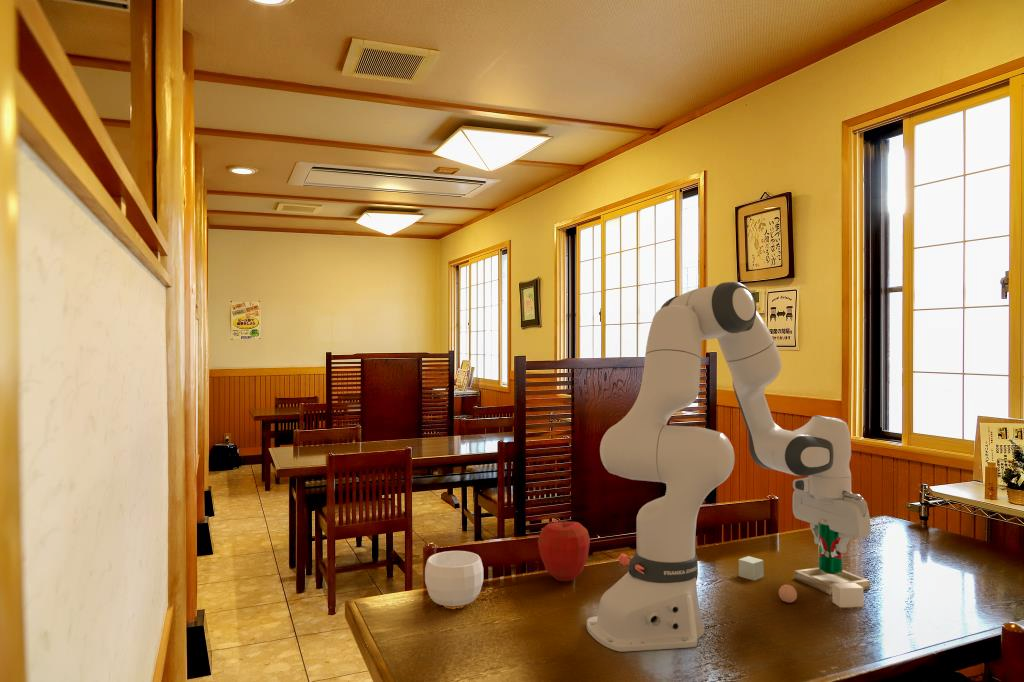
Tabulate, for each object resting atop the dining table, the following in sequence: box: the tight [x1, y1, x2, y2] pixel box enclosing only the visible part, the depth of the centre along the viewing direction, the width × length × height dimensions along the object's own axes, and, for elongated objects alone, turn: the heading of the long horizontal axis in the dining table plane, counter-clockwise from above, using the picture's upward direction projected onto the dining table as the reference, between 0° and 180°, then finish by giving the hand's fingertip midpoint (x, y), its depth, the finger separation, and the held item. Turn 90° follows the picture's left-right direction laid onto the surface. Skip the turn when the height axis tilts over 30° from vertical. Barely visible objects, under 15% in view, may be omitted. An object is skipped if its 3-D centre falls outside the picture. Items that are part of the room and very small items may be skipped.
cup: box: [424, 550, 484, 607], centre depth 145 cm, size 12×12×10 cm
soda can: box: [817, 518, 844, 574], centre depth 156 cm, size 5×5×12 cm
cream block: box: [832, 583, 864, 608], centre depth 143 cm, size 5×3×4 cm, turn 93°
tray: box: [793, 567, 871, 596], centre depth 156 cm, size 11×11×2 cm
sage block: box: [738, 555, 765, 581], centre depth 161 cm, size 4×4×4 cm
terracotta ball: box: [778, 584, 798, 604], centre depth 145 cm, size 4×4×4 cm
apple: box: [537, 518, 591, 582], centre depth 160 cm, size 12×12×14 cm
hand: (830, 547), depth 156 cm, fingers closed on soda can, 5 cm apart
